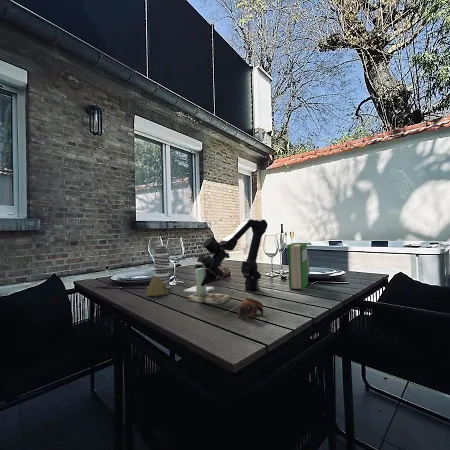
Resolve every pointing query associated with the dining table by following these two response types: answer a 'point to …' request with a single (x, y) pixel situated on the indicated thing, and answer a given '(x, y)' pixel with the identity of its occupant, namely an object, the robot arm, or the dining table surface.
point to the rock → (156, 287)
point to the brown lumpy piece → (252, 310)
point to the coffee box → (308, 262)
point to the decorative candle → (162, 264)
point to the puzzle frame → (210, 298)
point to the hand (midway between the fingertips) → (198, 285)
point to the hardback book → (297, 265)
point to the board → (193, 289)
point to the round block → (199, 279)
